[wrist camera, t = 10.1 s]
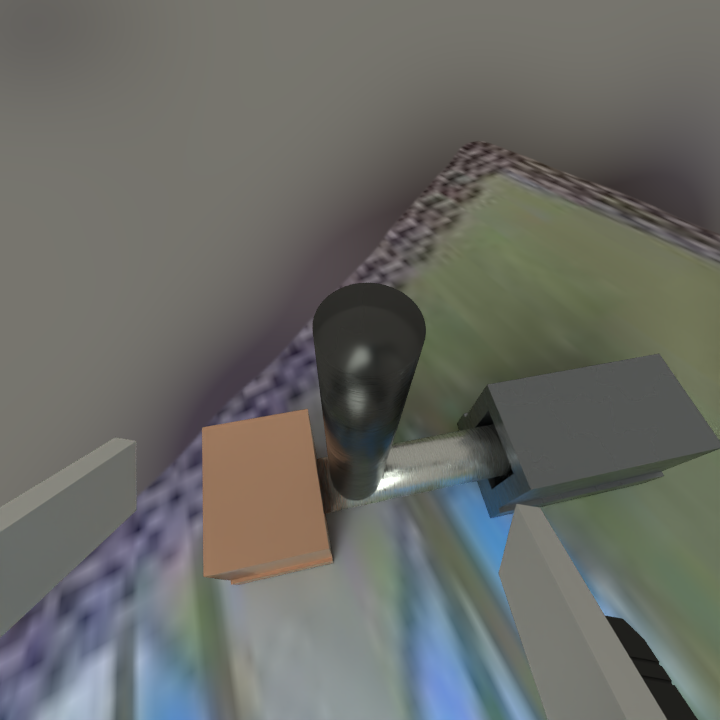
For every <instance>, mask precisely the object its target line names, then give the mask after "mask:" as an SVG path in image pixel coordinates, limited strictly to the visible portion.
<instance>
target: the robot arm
mask: <svg viewBox="0 0 720 720" xmlns="http://www.w3.org/2000/svg"><path fill="white" fill-rule="evenodd" d="M135 511H136V441H132V440H127V439H120V438H114V439H112V440H110V441H109V442H107V443H106V444H104V445H102V446H101V447H99V448H97V449H96V450H94V451H92V452H91V453H89V454H87V455H86V456H84V457H82V458H81V459H79V460H77V461H76V462H74V463H73V464H71V465H69V466H68V467H66V468H64V469H63V470H61V471H59V472H58V473H56V474H55V475H53V476H51V477H50V478H48V479H46V480H45V481H43V482H41V483H40V484H38V485H37V486H35V487H33V488H31V489H30V490H28V491H26V492H25V493H23V494H21V495H20V496H18V497H16V498H15V499H13V500H12V501H10V502H8V503H7V504H5V505H3V506H2V507H0V637H2V636H3V635H4V634H5V633H6V632H7V631H8V630H9V629H10V628H11V627H12V626H13V625H14V624H15V623H16V622H18V621H19V620H20V619H21V618H22V617H23V616H24V615H25V614H26V613H27V612H28V611H29V610H30V609H31V608H33V607H34V606H35V605H36V604H37V603H38V602H39V601H40V600H41V599H42V598H43V597H44V596H45V595H46V594H47V593H49V592H50V591H51V590H52V589H53V588H54V587H55V586H56V585H57V584H58V583H59V582H60V581H61V580H62V579H63V578H65V577H66V576H67V575H68V574H69V573H70V572H71V571H72V570H73V569H74V568H75V567H76V566H77V565H78V564H79V563H81V562H82V561H83V560H84V559H85V558H86V557H87V556H88V555H89V554H90V553H91V552H92V551H93V550H94V549H96V548H97V547H98V546H99V545H100V544H101V543H102V542H103V541H104V540H105V539H106V538H107V537H108V536H109V535H110V534H112V533H113V532H114V531H115V530H116V529H117V528H118V527H119V526H120V525H121V524H122V523H123V522H124V521H125V520H126V519H128V518H129V517H130V516H131V515H132V514H133V513H134V512H135ZM499 576H500V579H501V582H502V585H503V588H504V591H505V594H506V597H507V600H508V603H509V606H510V609H511V612H512V615H513V618H514V621H515V624H516V627H517V630H518V633H519V636H520V639H521V642H522V645H523V648H524V650H525V653H526V656H527V659H528V662H529V665H530V668H531V671H532V674H533V677H534V680H535V683H536V686H537V689H538V692H539V695H540V698H541V701H542V704H543V707H544V710H545V713H546V716H547V719H548V720H698V719H697V718H696V716H695V715H694V713H693V712H692V710H691V709H690V707H689V706H688V704H687V703H686V701H685V700H684V698H683V697H682V696H681V694H680V693H679V691H678V690H677V688H676V687H675V685H672V683H671V679H670V678H669V676H668V675H667V673H666V672H665V670H664V669H663V667H662V666H660V665H659V661H658V660H657V658H656V657H655V655H654V654H653V652H652V651H651V649H650V648H649V646H648V645H647V643H646V642H645V640H644V639H643V638H642V637H641V636H640V635H639V634H638V633H637V632H636V631H635V630H634V629H633V628H632V627H631V626H630V625H629V624H628V623H627V622H626V621H625V620H623V619H621V618H615V617H610V616H605V615H604V614H603V612H602V610H601V609H600V607H599V605H598V604H597V602H596V600H595V599H594V597H593V595H592V594H591V592H590V590H589V589H588V587H587V585H586V584H585V582H584V580H583V579H582V577H581V575H580V574H579V572H578V570H577V569H576V567H575V565H574V564H573V562H572V560H571V559H570V557H569V555H568V554H567V552H566V550H565V549H564V547H563V545H562V544H561V542H560V540H559V539H558V537H557V535H556V534H555V532H554V530H553V529H552V527H551V525H550V524H549V522H548V520H547V519H546V517H545V515H544V514H543V512H542V510H541V509H540V508H539V507H533V506H527V505H521V504H516V507H515V511H514V515H513V519H512V522H511V526H510V530H509V534H508V538H507V542H506V546H505V550H504V554H503V558H502V562H501V566H500V570H499Z"/></svg>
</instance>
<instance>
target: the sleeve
mask: <svg viewBox="0 0 720 720" xmlns="http://www.w3.org/2000/svg"><path fill="white" fill-rule="evenodd" d="M493 424H494V425H495V428H496V430H497V433H498V435H499V438H500V440H501V443H502V445H503V448H504V450H505V453H506V455H507V458H508V460H509V463H510V465H511V468H512V470H513V473H512V474H507V475H502V476H498V477H493V478H488V479H484V480H479V481H477V482H478V484H479V487H480V490H481V493H482V496H483V499H484V501H485V504H486V507H487V510H488V513H489V515H490V518H494V517H498V516H502V515H507V514H511V513H514V511H515V507H516V504H521V505H527V506H533V507H542V506H546V505H551V504H555V503H559V502H564V501H568V500H572V499H577V498H581V497H585V496H590V495H594V494H599V493H603V492H607V491H612V490H616V489H620V488H625V487H629V486H634V485H638V484H642V483H646V482H649V481H651V480H654V479H657V478H659V477H662V476H664V475H663V473H662V471H664V470H666V469H669V468H672V467H674V466H677V465H679V464H682V463H684V462H687V461H689V460H692V459H695V458H697V457H700V456H702V455H705V454H707V453H710V452H712V451H715V450H718V449H720V441H719V439H718V438H717V436H716V435H715V434H714V432H713V431H712V429H711V428H710V426H709V425H708V423H707V422H706V421H705V419H704V418H703V416H702V415H701V413H700V412H699V410H698V409H697V408H696V406H695V405H694V403H693V402H692V400H691V399H690V397H689V396H688V395H687V393H686V392H685V390H684V389H683V387H682V386H681V384H680V383H679V382H678V380H677V379H676V377H675V376H674V374H673V373H672V372H671V370H670V369H669V367H668V366H667V364H666V363H665V361H664V360H663V359H662V357H661V356H660V354H654V355H649V356H643V357H638V358H632V359H627V360H621V361H616V362H610V363H604V364H599V365H593V366H588V367H582V368H577V369H571V370H566V371H560V372H555V373H549V374H544V375H538V376H532V377H527V378H521V379H516V380H510V381H505V382H499V383H494V384H488V385H487V386H486V387H485V389H484V390H483V392H482V393H481V395H480V396H479V398H478V399H477V401H476V402H475V404H474V405H473V407H472V408H471V410H470V411H469V412H468V413H465V414H463V416H462V417H461V419H460V420H459V422H458V423H457V425H458V428H459V431H462V430H467V429H472V428H478V427H483V426H488V425H493Z"/></svg>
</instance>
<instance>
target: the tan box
mask: <svg viewBox="0 0 720 720" xmlns="http://www.w3.org/2000/svg"><path fill="white" fill-rule="evenodd" d="M202 456H203V561H204V577H208V578H215V579H223V580H231V584H233V585H240V584H245V583H249V582H253V581H258V580H262V579H266V578H271V577H275V576H279V575H284V574H288V573H292V572H297V571H301V570H305V569H309V568H314V567H318V566H322V565H327V564H331V563H333V557H332V551H331V545H330V538H329V532H328V526H327V519H326V513H325V514H324V510H323V504H322V498H321V491H320V485H319V478H318V472H317V465H316V459H317V456H316V449H315V443H314V438H313V434H312V429H311V424H310V419H309V414H308V409H304V410H298V411H293V412H287V413H281V414H276V415H270V416H265V417H259V418H253V419H248V420H242V421H236V422H231V423H225V424H220V425H214V426H208V427H203V428H202Z"/></svg>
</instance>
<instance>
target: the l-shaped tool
mask: <svg viewBox="0 0 720 720" xmlns="http://www.w3.org/2000/svg"><path fill="white" fill-rule="evenodd" d="M425 336H426V327H425V321H424V318H423V315H422V313H421V311H420V310H419V308H418V306H417V305H416V304H415V303H414V302H413V301H412V300H411V299H410V298H409V297H408V296H406V295H405V294H404V293H402V292H400V291H399V290H397V289H394V288H392V287H389V286H386V285H382V284H376V283H358V284H352V285H349V286H345V287H343V288H340V289H338V290H336V291H335V292H333V293H332V294H330V295H329V296H328V297H327V298H326V299H325V300H324V301H323V302H322V303H321V304H320V306H319V307H318V309H317V311H316V313H315V316H314V320H313V337H314V345H315V354H316V362H317V370H318V378H319V387H320V395H321V403H322V411H323V420H324V428H325V436H326V444H327V453H328V457H324V458H319V459H316V465H317V472H318V478H319V485H320V491H321V498H322V504H323V510H324V514H325V513H330V512H334V511H339V510H344V509H348V508H353V507H358V506H362V505H367V504H372V503H376V502H381V501H386V500H390V499H395V498H400V497H404V496H409V495H414V494H418V493H423V492H428V491H432V490H437V489H442V488H446V487H451V486H456V485H460V484H465V483H470V482H474V481H479V480H484V479H488V478H493V477H498V476H502V475H507V474H512V473H513V470H512V468H511V465H510V463H509V460H508V458H507V455H506V453H505V450H504V448H503V445H502V443H501V440H500V438H499V435H498V433H497V430H496V428H495V425H494V424H493V425H488V426H483V427H478V428H472V429H467V430H462V431H457V432H452V433H447V434H442V435H437V436H431V437H426V438H421V439H416V440H411V441H406V442H401V443H396V444H392V443H393V440H394V437H395V433H396V430H397V427H398V424H399V421H400V417H401V414H402V411H403V408H404V405H405V401H406V398H407V395H408V392H409V389H410V385H411V382H412V379H413V376H414V373H415V369H416V366H417V363H418V360H419V357H420V354H421V350H422V347H423V344H424V340H425Z"/></svg>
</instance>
